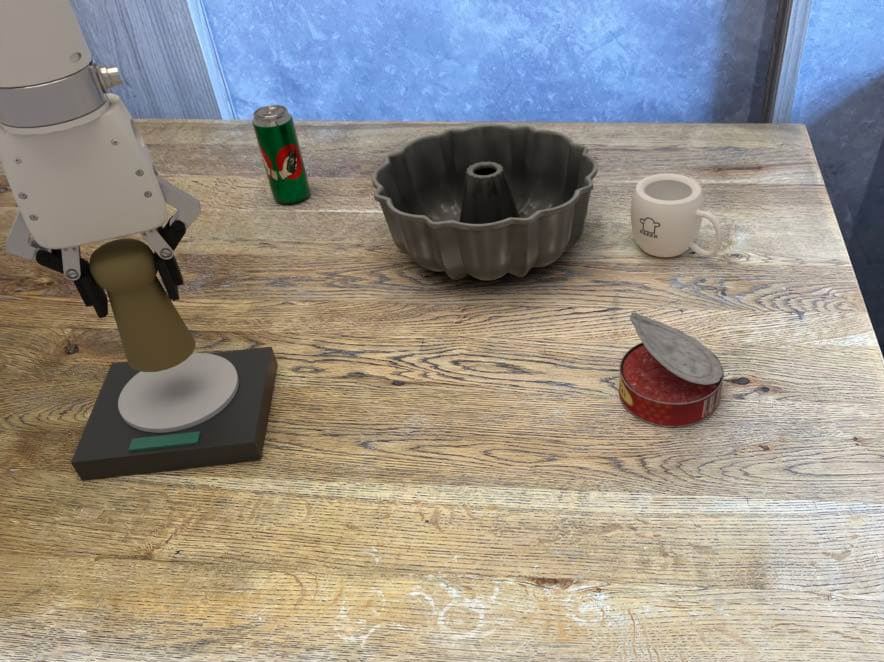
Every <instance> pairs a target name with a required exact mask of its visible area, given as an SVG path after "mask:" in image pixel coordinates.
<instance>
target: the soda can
mask: <svg viewBox="0 0 884 662" xmlns="http://www.w3.org/2000/svg"><path fill="white" fill-rule="evenodd" d="M252 116H253V119H252V127H253V130H254V135H255V138H256V141H257V145H258V148H259V152H260V156H261V158H262V163H263V166H264V169H265V174H266V178H267V181H268V184H269V188H270V192H271V194H272V197H273V199H274V200H275V201H277V202H278V203H280V204H282V205H283V204H284V205H293V204H298V203H301V202H303V201H305V200H306V199H307V198H308V197H309V195H310V193H311V187H310V183H309V179H308V174H307V171H306V167H305V162H304V159H303V155H302V150H301V146H300V143H299V138H298V134H297V130H296V126H295V122H294V118H293V115H292V114H291V113H290V112H289V110H288V108H287V107H286V106H284V105H281V104H270V105H265V106H261V107H259V108H257V109H255V110H253V113H252Z"/></svg>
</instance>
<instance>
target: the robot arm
mask: <svg viewBox="0 0 884 662" xmlns="http://www.w3.org/2000/svg"><path fill="white" fill-rule="evenodd" d="M124 84H125V83H124V79H123V75H122V73H121V70H120V68H119V65H110V66H107V65H106V64H104V65H103V64H102V65H101V64H100V61H96V60H95V57H94V54H93V55H92V54H91V51H90V49H89V46H88V44H87V41H86V38H85V36H84V34H83V31H82V28H81V26H80V23H79V20H78V19H77V15H76V12H75V11H74V8H73V5H72V4H71V1H70V0H0V164H1V166H2V169H3V172H4V175H5V177H6V179H7V182H8V186H9V188H10V191H11V192H12V195H13V197H14V200H15V202H16V205H17V207H18V210H17V213H16V215H15V217H14V220H13V223H12V225H11V227H10V230H9V233H8V234H7V237H6V239H5V240H6V241H5V247H4V248H5V251H6V252H7V253H8V254H10V255H13V256H16V257H20V258H22V259H25V260H29V261H34V262H36V263H37V264H38V265H40V266H42V267H44V268H47V269H50V270H52V271H55V272H58V273H59V274H62V275H63V276H64V278H65V279H67V280H69V281H72V282H73V284H74V286H75V288H76V290H77V292H78V294H79V295H80V298H81V300H82V302H83V304H84V305H85V307H86V308H89V307H93V309H94V311H95V313H96V316H97V317H98V319H104V318H107V316H108V315H109V297H108V294H107V293H106V290H105V289H103V288H101V287H100V286H99V285H98V284H97V283H96V282H95V280H94V278H93V276H92V274H91V272H90V269H89V260H88V259H85V258H84V257H82V253H81V246H85V245H90V244H95V243H100V242H105V241H109V240H115V239H120V238H123V237H127V236H132V235H137V234H139V235H140V236H141V237H142V238H143V240H144V241H145V242H146V244H147V245H148V246H149V247H150V248H151V249H152V251H153V253H154V254H155V264H156V267H157V269H158V272H157V273H158V275H159V276H160V279H161V282H162V285H163V287H164V290H165V291H166V293H167V295H168V296H169V298H170V300H171V301H172V302H175V301H179V300H180V294H179V286H182V285H184V284H185V282H184V277H183V274H182V272H181V269H180V266H179V263H178V261H177V259H176V256H175V251H176V249H177V247H178V245H180V243H181V241H182V239H183V238H184V236H185V235H186V233H187V230H188V228H189V227H191V226H192V224H193V223H194V222H195V221H196V220H197V218H198V217H199V215H200V214H201V212H202V207H201V204H200V201H199V200H198V199H197V198H196V197H194V196H192V195H191V194H189V193H187V192H185V191H184V190H183V189H181V188H179V187H178V186H176V185H174V184H172V183H171V182H169V181H168V180H166V179H164V178H163V177H161V176H160V174H159V171H158V170H157V167H156V164H155V162H154V160H153V158H152V156H151V153H150V150H149V148H148V147H147V144H146V143H145V140H144V138H143V136H142V134H141V132H140V130H139V128H138V126H137V124H136V122H135V120H134V119H133V117H132V115H131V114H130V112H129V110H128V108H127V106H126V105H125V103H124V102H123V101H122V99H121V97H120V96H119V95H117V94H115V93H110V89H114V88H115V87H116V86H122V85H123V86H124ZM167 204H168V205H170V206H171V207H174V208H175V209H176V211H175V213H174V214H173V215H171V216H170V218H169V212H168V208H167ZM30 236H31V237H32V238H33V239H32V238H31V237H30Z"/></svg>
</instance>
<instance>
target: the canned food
mask: <svg viewBox="0 0 884 662" xmlns="http://www.w3.org/2000/svg"><path fill="white" fill-rule="evenodd" d="M629 321H630V322H631V324H632V326H633V327H634V329H635V332H636V335H637V336H638V338H639V340H640V341H641V342H639V343H637V344H636V345H634V346H632V347H631V348H630V349H629V350H628V351H626V353H625V354H624V355H623V357H622V358H621V361H620V364H619V384H618V395H619V399H620V401H621V404H622V405H623V408H625V410H627V411H628V412H629V413H630V415H632V416H634V417H635V418H637V419H638V420H640V421H643V422H644V423H647V424H650V425H653V426H658V427H665V428H683V427H690V426H692V425H696V424H698V423H701V422H703V421H705V420H706V419H708V418H709V417H711V416H712V415H713V414H714V413H715V412H716V410H717V409H718V407H719V406H720V402H721V397H722V396H721V395H722V394H721V393H722V390H723V389H722V388H723V382H724V377H725V371H724V366H723V364H722V362H721V360H720V359H719V357H718V356H717V355H716V353H714V352H713V351H712V350H711V349H710V348H708V347H706V346H705V345H704V344H703V343H701V342H700V341H699V340H698V339H697V338H695V337H692V336H691V335H688V334H687V333H685V332H684V331H682V330H681V329H678V328H676V327H672V326H670V325H667V324H665V323H664V322H661V321H659V320H655V319H653V318H651V317H647V316H645V315H640V314H639V313H637V312H636V311H635V312H631V313H630V316H629Z"/></svg>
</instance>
